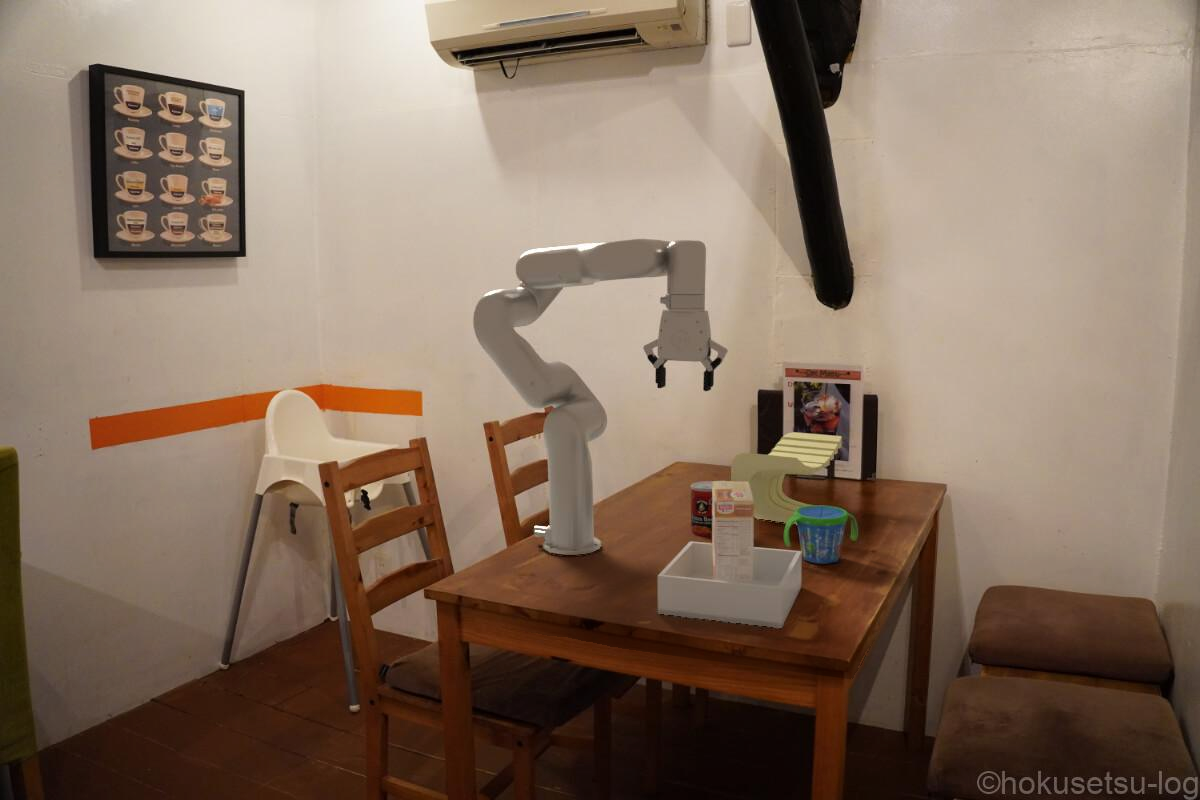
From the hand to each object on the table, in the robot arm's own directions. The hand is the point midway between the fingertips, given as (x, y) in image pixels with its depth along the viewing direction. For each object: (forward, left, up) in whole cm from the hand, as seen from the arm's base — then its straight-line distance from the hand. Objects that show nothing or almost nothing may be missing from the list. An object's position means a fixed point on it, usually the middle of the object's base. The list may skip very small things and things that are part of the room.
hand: (684, 388), depth 189 cm
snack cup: (+26, +9, -36) cm, 46 cm away
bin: (+14, -20, -36) cm, 43 cm away
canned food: (-1, +22, -36) cm, 42 cm away
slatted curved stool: (+14, +41, -36) cm, 57 cm away
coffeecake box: (+14, -19, -35) cm, 43 cm away
